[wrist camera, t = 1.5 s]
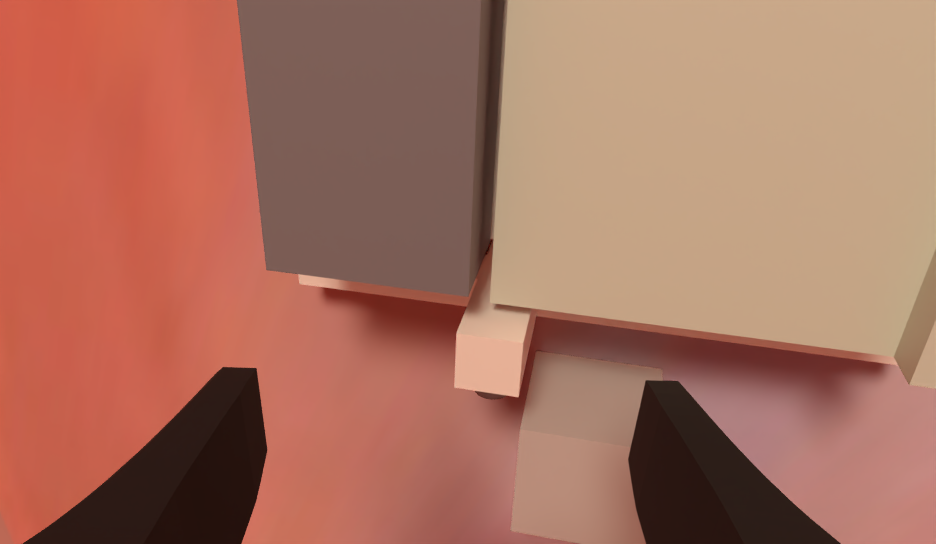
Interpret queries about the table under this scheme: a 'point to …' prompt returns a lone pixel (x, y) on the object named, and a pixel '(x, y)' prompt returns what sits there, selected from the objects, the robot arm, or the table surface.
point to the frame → (527, 318)
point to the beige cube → (579, 450)
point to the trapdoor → (613, 158)
